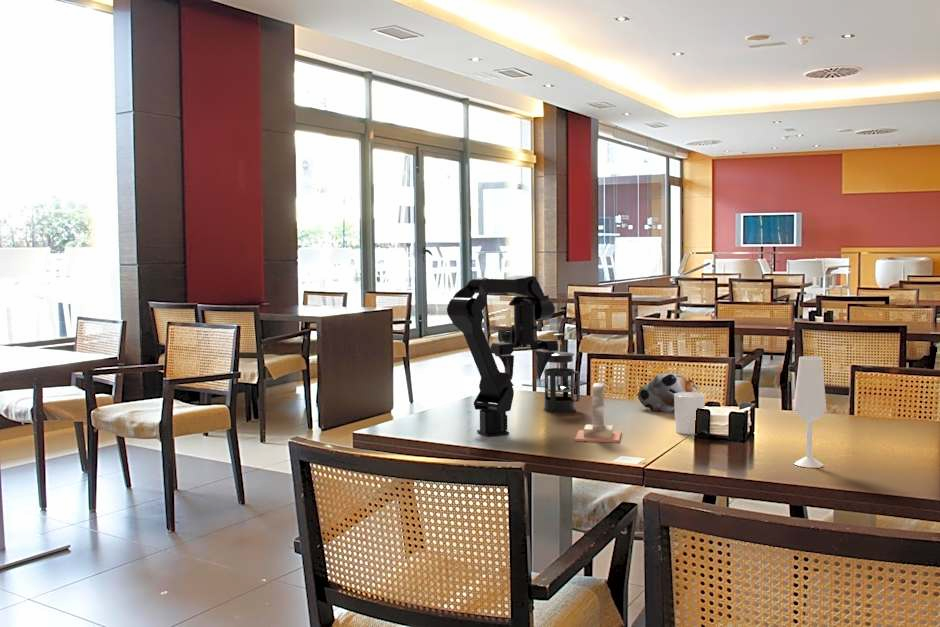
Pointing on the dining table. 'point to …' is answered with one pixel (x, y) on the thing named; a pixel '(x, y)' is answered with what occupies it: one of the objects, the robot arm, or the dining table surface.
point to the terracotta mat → (614, 439)
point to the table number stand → (598, 415)
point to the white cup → (687, 410)
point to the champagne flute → (809, 400)
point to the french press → (554, 401)
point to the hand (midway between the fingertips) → (524, 378)
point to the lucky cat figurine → (664, 391)
